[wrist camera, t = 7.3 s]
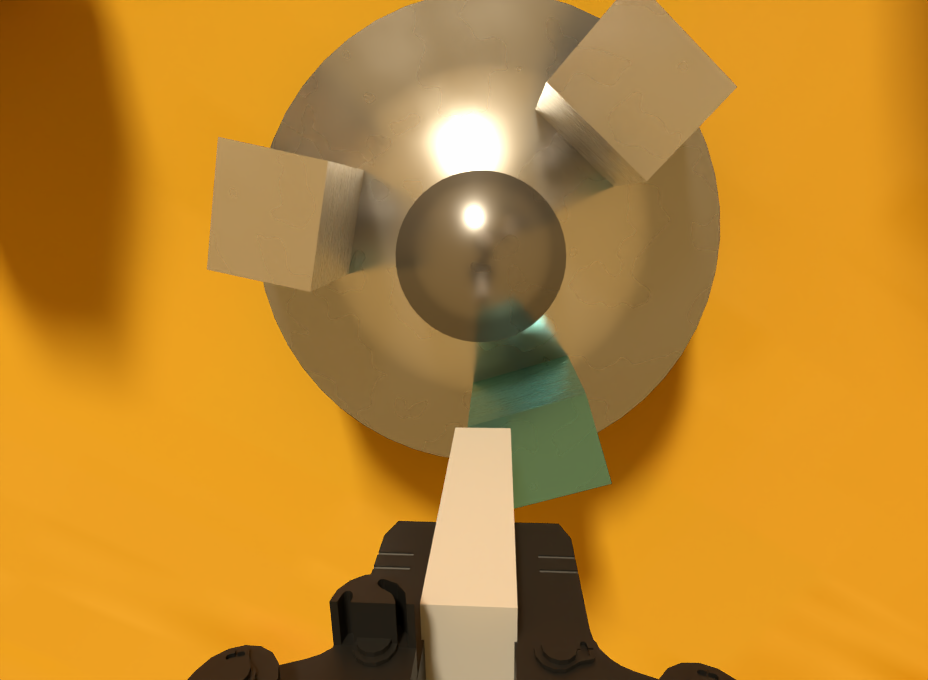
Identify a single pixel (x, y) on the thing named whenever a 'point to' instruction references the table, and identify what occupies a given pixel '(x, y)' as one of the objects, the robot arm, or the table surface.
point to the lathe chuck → (487, 224)
